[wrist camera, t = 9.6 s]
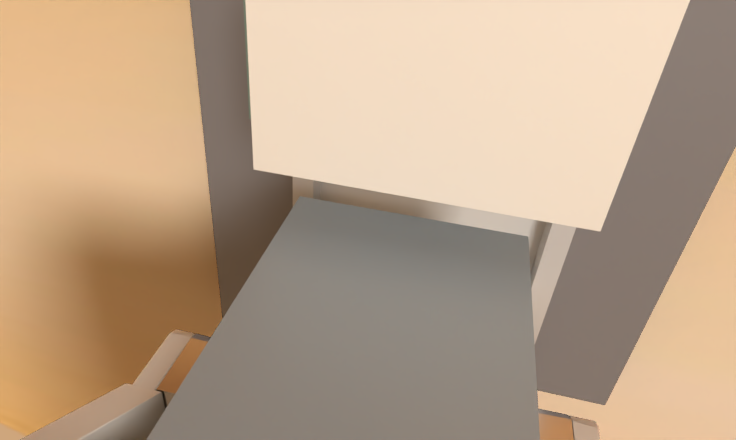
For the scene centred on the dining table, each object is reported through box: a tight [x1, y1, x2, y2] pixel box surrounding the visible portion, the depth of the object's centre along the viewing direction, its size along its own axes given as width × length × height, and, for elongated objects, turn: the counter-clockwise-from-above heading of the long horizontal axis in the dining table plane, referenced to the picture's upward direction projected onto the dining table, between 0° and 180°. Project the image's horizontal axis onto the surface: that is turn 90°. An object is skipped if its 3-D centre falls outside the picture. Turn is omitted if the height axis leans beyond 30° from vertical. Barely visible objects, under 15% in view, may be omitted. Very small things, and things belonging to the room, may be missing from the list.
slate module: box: [146, 196, 540, 440], centre depth 11 cm, size 6×4×9 cm, turn 86°
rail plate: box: [190, 0, 736, 405], centre depth 18 cm, size 19×22×9 cm
